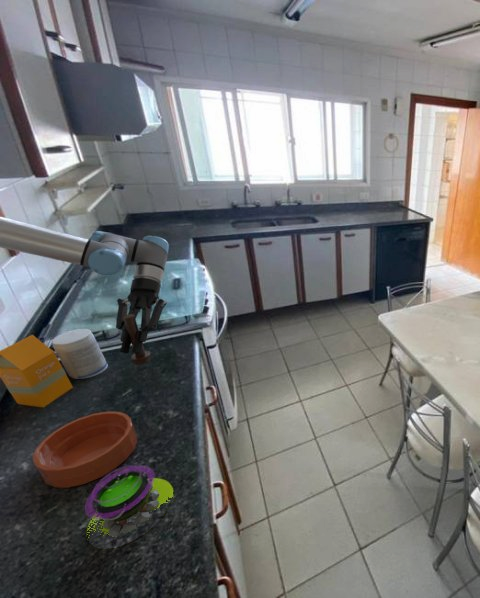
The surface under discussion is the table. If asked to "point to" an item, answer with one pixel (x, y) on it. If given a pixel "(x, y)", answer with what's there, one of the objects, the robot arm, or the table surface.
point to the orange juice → (33, 373)
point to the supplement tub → (80, 353)
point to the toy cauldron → (127, 500)
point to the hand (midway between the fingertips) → (130, 352)
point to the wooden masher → (132, 330)
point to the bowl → (85, 449)
